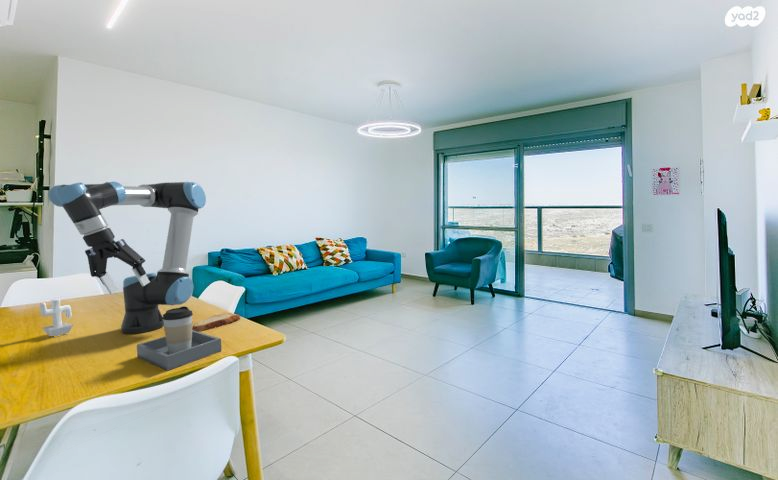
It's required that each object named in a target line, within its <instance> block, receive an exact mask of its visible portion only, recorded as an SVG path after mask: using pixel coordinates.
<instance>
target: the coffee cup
mask: <svg viewBox="0 0 778 480" xmlns="http://www.w3.org/2000/svg"><path fill="white" fill-rule="evenodd" d="M193 315H194V313H193V311H192V310H190V309H189V308H188V307H187V306H180V307H175V308H171V309H167V310H166V311H165V313H163V314H162V317H163V318H162V319H163V321H164V326H163V329H164V331H163V332H164V337H166V342H167V346H168V353H169V354H173V353H176V352H179V351H182V350H185V349H188V348H191V342H192V327H193V325H194V324H193Z"/></svg>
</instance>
